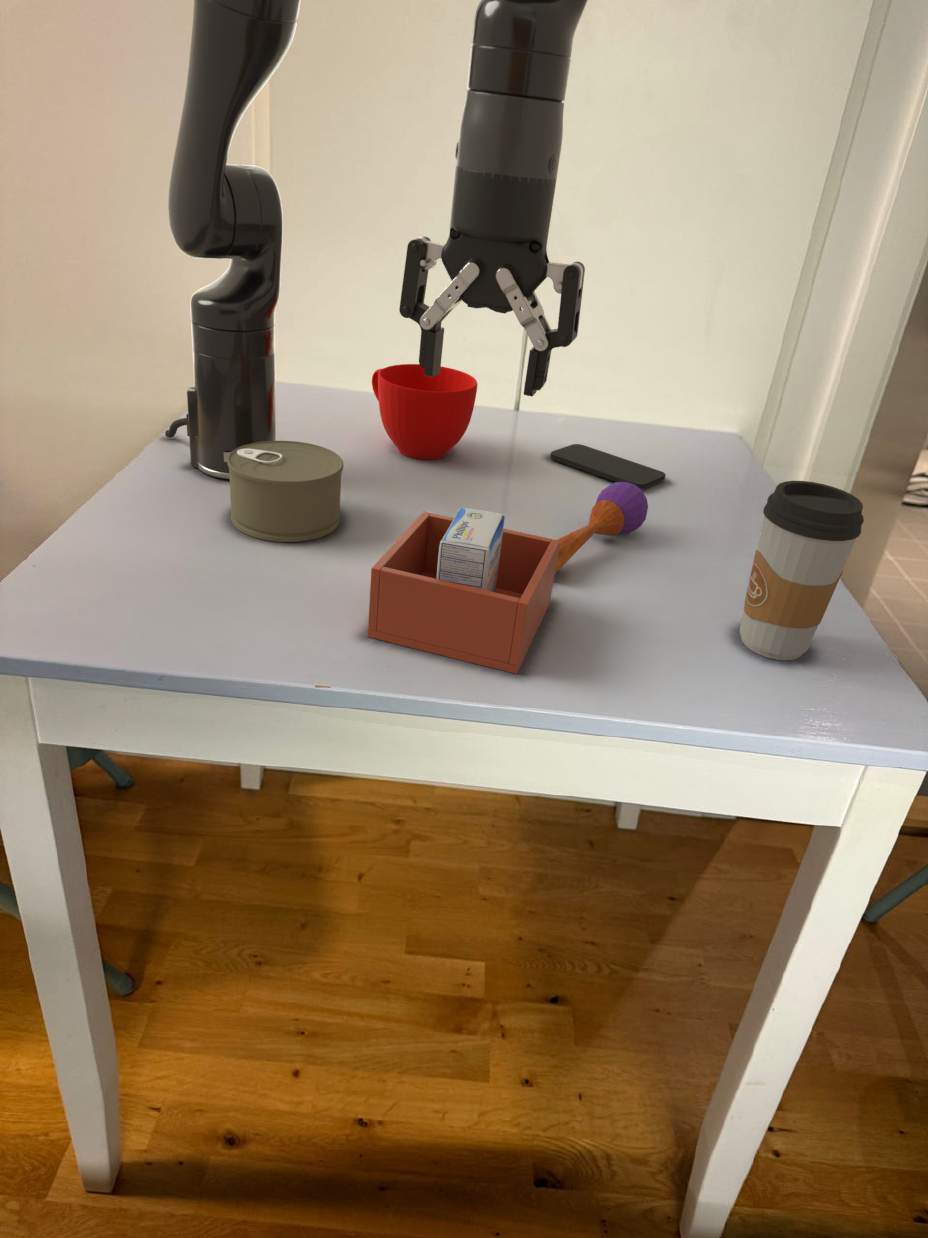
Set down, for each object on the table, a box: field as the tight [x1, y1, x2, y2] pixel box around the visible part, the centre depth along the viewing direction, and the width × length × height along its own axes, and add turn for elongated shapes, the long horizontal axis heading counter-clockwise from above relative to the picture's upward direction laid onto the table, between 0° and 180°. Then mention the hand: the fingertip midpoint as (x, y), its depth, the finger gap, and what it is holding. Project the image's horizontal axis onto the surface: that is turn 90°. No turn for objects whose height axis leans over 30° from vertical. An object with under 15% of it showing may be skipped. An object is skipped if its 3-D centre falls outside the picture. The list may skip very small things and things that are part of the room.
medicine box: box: [437, 507, 506, 592], centre depth 80 cm, size 8×4×9 cm, turn 168°
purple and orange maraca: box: [555, 482, 649, 574], centre depth 98 cm, size 6×6×20 cm
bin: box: [367, 511, 560, 675], centre depth 81 cm, size 14×14×7 cm
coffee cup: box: [739, 480, 865, 661], centre depth 81 cm, size 8×8×15 cm
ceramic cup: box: [371, 363, 478, 460], centre depth 120 cm, size 13×17×10 cm
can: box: [227, 440, 344, 543], centre depth 96 cm, size 12×12×7 cm
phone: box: [549, 443, 666, 490], centre depth 122 cm, size 7×1×15 cm
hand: (480, 383), depth 74 cm, fingers open, 8 cm apart
